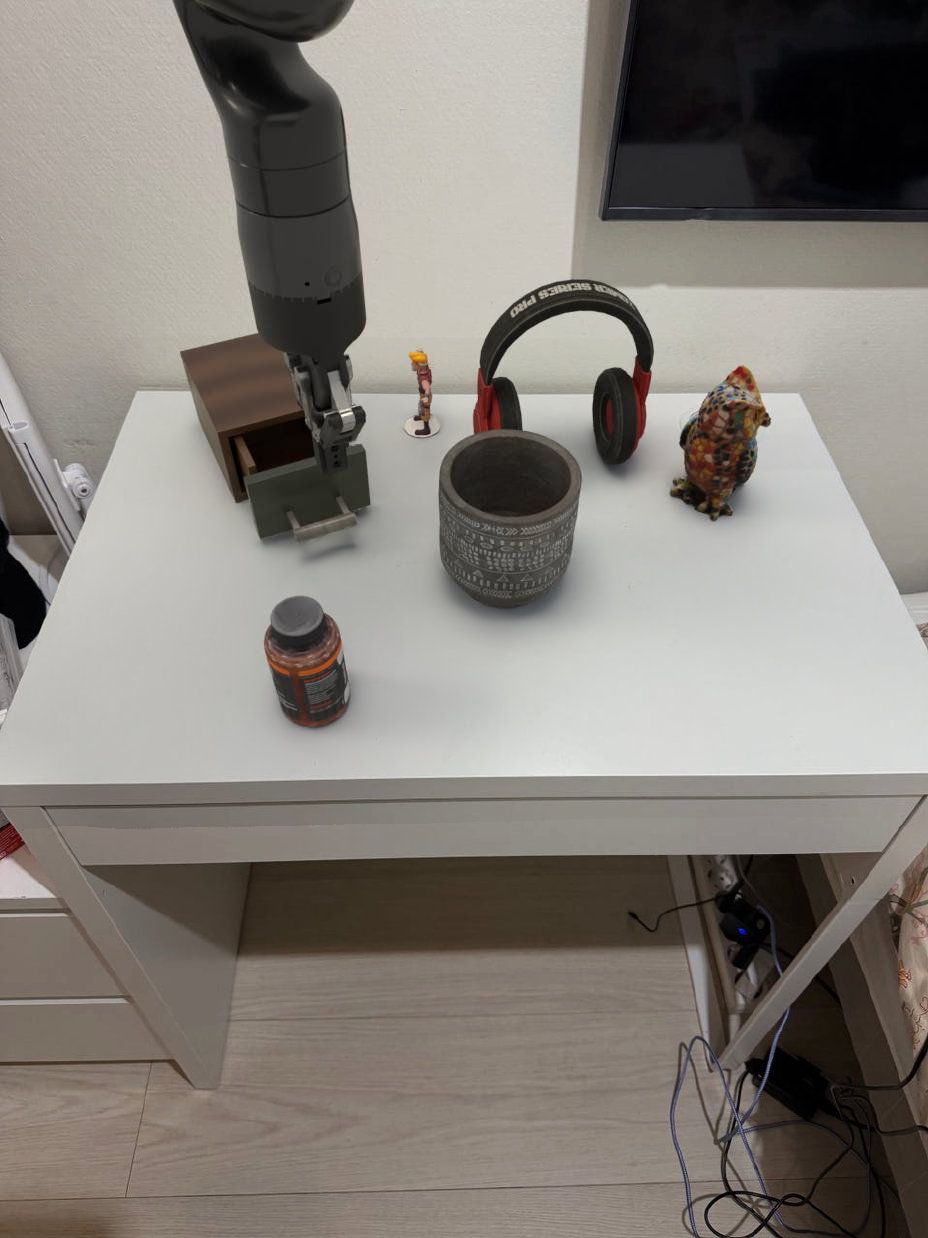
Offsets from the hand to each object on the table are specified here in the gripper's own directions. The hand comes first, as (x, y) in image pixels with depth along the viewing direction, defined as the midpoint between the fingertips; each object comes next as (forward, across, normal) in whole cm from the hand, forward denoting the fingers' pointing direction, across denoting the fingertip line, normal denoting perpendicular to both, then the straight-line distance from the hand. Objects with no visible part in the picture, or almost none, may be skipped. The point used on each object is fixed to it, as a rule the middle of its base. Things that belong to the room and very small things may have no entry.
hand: (332, 467), depth 68 cm
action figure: (+15, -18, +16) cm, 29 cm away
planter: (+15, +4, +14) cm, 21 cm away
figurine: (+15, +4, +39) cm, 42 cm away
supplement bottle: (+15, +10, -7) cm, 20 cm away
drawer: (+14, -14, 0) cm, 20 cm away
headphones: (+15, -8, +27) cm, 32 cm away
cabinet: (+15, -24, 0) cm, 28 cm away
